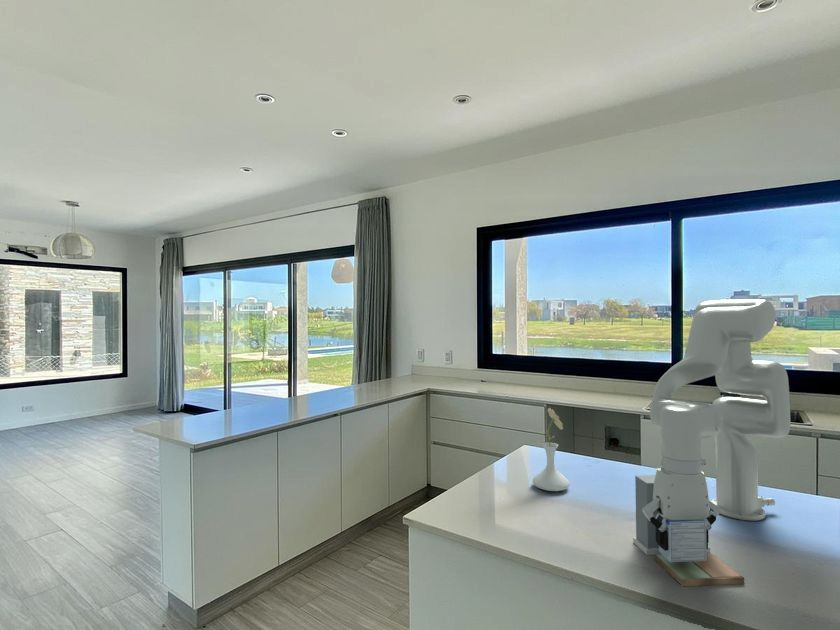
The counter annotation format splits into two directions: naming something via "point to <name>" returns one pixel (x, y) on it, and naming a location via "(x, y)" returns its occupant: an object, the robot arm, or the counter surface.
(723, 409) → the robot arm
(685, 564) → the board
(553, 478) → the flower in vase
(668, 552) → the medicine box
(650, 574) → the counter surface
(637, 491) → the cabinet
